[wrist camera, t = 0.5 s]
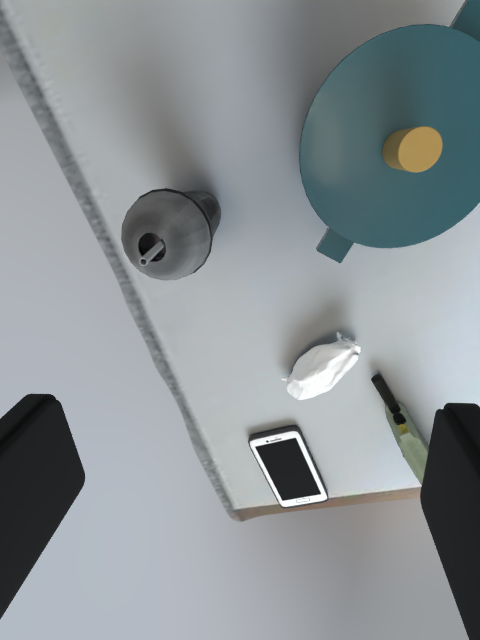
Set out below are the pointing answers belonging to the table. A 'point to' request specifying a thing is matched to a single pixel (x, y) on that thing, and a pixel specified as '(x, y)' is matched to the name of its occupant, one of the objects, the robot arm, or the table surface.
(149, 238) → the beverage cup
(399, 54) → the lid
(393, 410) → the handheld radio
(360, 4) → the table surface
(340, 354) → the white tied bag
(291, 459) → the cell phone
